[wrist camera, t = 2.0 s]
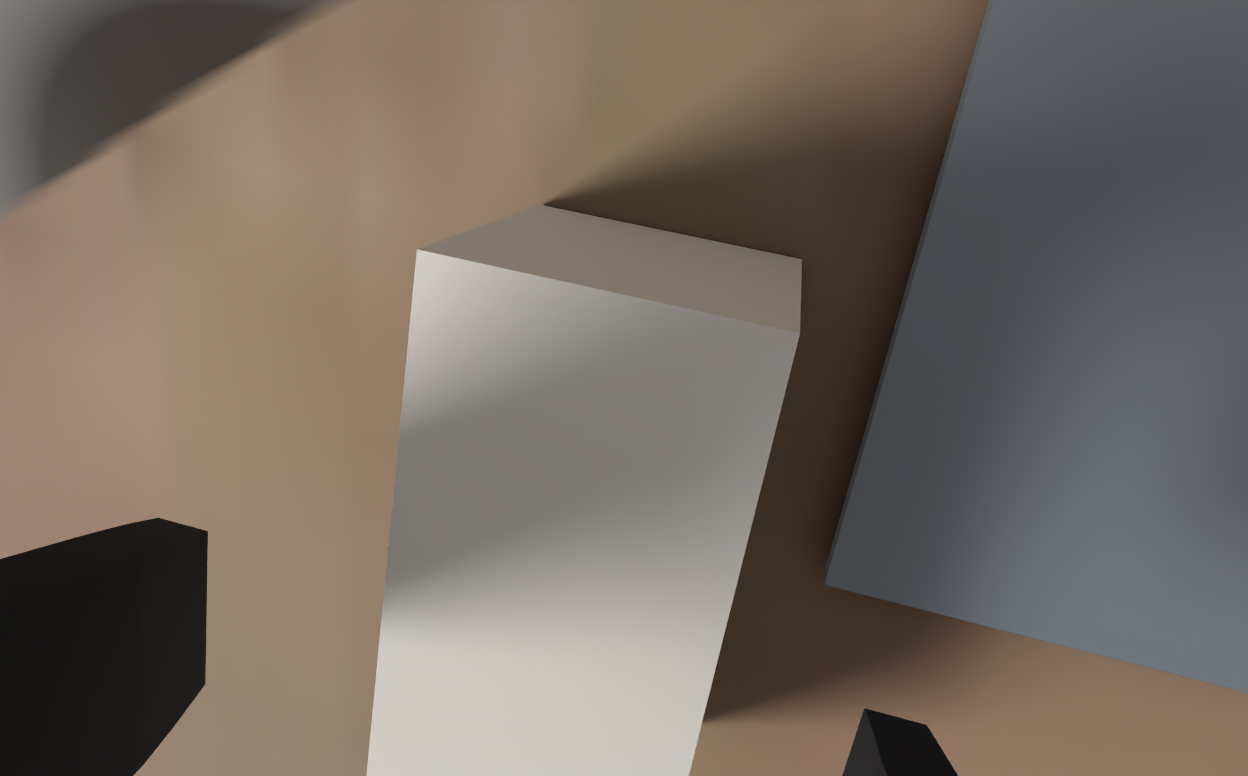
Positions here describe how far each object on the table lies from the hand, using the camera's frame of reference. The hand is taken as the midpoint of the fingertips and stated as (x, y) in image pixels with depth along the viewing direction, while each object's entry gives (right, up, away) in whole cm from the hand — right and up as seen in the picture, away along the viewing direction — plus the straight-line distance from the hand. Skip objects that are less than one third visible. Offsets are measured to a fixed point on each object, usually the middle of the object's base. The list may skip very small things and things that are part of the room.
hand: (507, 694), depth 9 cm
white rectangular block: (+1, +2, +5) cm, 6 cm away
